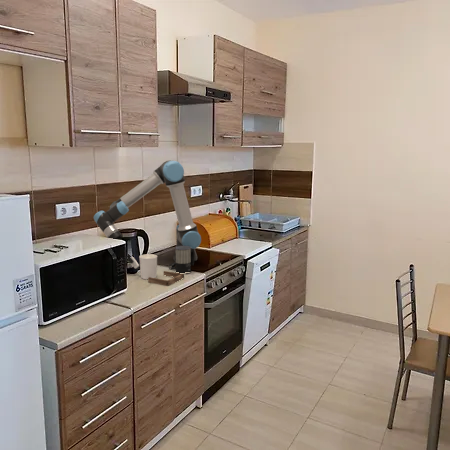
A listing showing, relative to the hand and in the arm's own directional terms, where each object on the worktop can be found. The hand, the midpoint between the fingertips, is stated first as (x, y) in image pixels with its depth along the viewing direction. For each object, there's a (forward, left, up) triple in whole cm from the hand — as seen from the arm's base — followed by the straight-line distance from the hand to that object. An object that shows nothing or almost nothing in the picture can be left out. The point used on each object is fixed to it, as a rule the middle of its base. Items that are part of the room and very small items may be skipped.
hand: (137, 267), depth 240 cm
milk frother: (-20, +15, -5) cm, 26 cm away
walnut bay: (0, +19, -5) cm, 19 cm away
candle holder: (0, +7, -5) cm, 9 cm away
